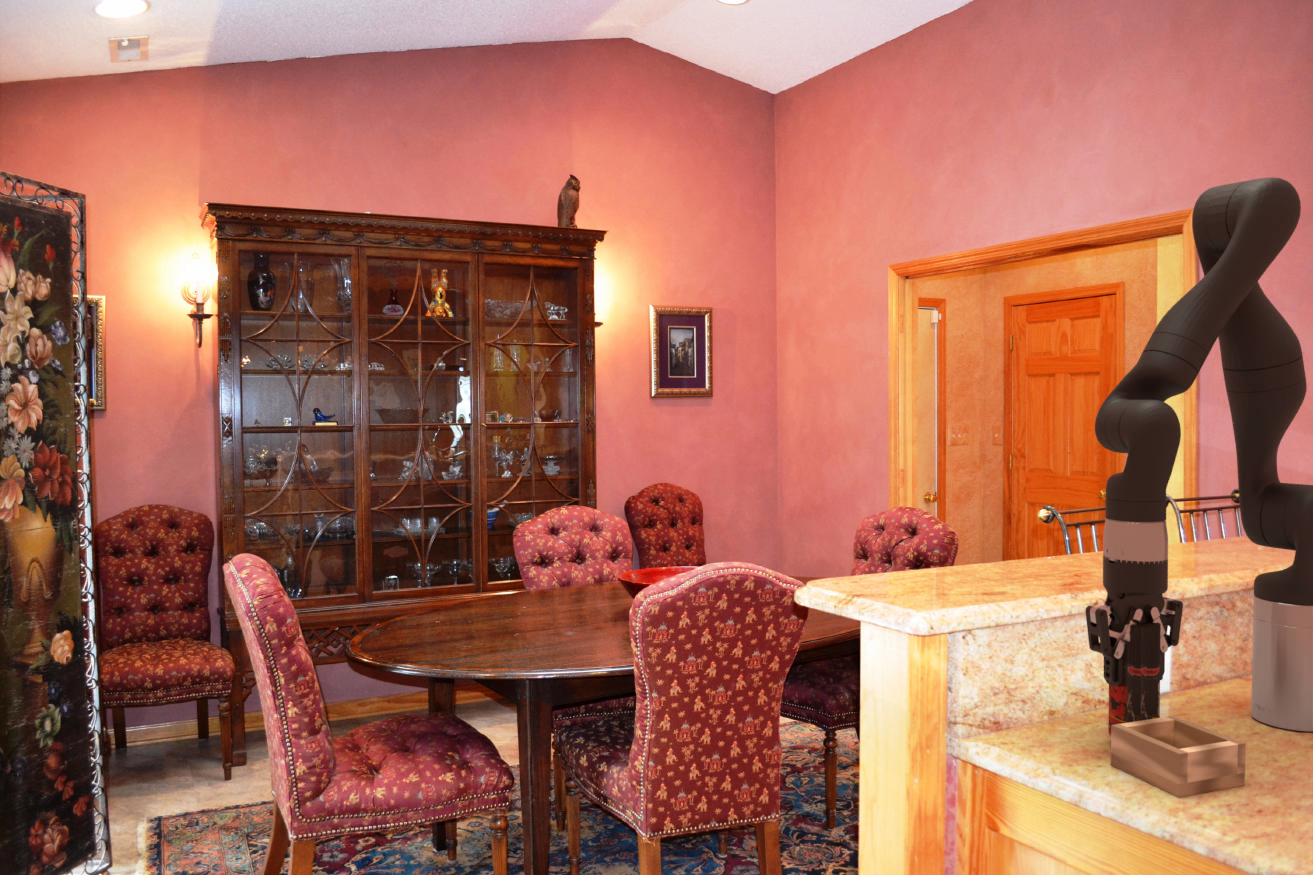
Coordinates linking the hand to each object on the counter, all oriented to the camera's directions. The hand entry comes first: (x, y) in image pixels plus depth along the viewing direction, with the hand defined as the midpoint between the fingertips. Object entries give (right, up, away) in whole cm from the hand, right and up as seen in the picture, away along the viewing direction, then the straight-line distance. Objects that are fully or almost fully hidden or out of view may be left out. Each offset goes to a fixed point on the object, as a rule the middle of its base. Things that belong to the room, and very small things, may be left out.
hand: (1134, 681), depth 123 cm
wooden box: (0, -9, -9) cm, 13 cm away
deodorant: (0, -7, 0) cm, 7 cm away
